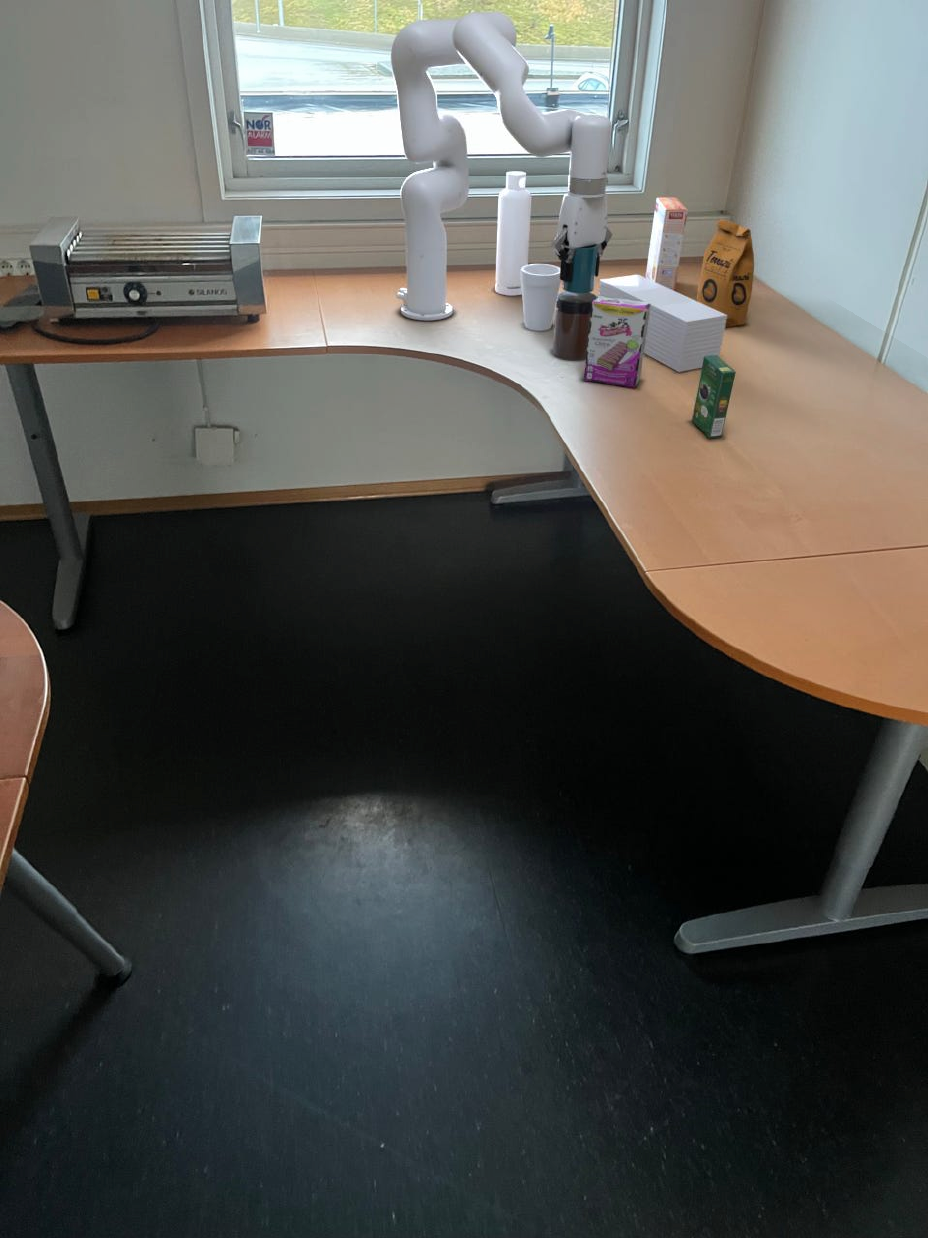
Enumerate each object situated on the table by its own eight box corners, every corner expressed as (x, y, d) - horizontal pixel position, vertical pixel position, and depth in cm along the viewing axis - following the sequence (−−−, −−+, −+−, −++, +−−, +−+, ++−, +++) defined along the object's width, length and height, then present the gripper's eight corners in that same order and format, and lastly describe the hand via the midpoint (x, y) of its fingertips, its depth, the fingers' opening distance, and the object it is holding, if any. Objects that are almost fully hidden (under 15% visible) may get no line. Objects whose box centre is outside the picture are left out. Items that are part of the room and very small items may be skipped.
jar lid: (548, 307, 196) (549, 296, 195) (570, 298, 201) (571, 287, 200) (582, 316, 192) (583, 305, 190) (603, 306, 197) (604, 295, 196)
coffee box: (723, 438, 169) (737, 370, 161) (709, 439, 168) (722, 371, 161) (704, 420, 175) (717, 353, 167) (690, 421, 175) (702, 354, 167)
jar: (545, 354, 202) (549, 300, 195) (566, 344, 207) (570, 291, 200) (577, 363, 198) (582, 308, 191) (598, 352, 203) (603, 299, 196)
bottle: (506, 283, 243) (511, 168, 227) (532, 289, 239) (539, 172, 223) (489, 291, 238) (493, 173, 221) (515, 297, 234) (521, 178, 217)
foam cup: (554, 334, 212) (559, 276, 205) (515, 330, 214) (518, 273, 206) (559, 321, 220) (564, 265, 212) (521, 317, 221) (524, 262, 214)
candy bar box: (582, 381, 190) (590, 301, 180) (588, 373, 194) (596, 294, 184) (636, 389, 187) (647, 308, 177) (640, 380, 191) (651, 301, 181)
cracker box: (675, 295, 238) (688, 209, 225) (652, 294, 238) (664, 208, 225) (666, 279, 249) (678, 196, 237) (644, 278, 249) (655, 195, 237)
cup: (556, 288, 194) (559, 244, 188) (573, 282, 198) (577, 238, 193) (582, 295, 191) (587, 250, 185) (599, 288, 195) (604, 243, 189)
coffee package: (716, 330, 217) (734, 232, 204) (688, 313, 226) (704, 218, 213) (751, 326, 220) (771, 229, 206) (723, 310, 229) (740, 216, 216)
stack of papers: (717, 364, 199) (727, 314, 192) (678, 372, 195) (686, 321, 188) (632, 319, 222) (638, 274, 215) (595, 325, 218) (600, 279, 211)
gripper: (605, 177, 189) (596, 267, 200) (541, 187, 181) (536, 280, 191) (631, 184, 184) (621, 275, 195) (567, 194, 176) (559, 289, 186)
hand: (578, 277), depth 193 cm, fingers closed on cup, 6 cm apart
